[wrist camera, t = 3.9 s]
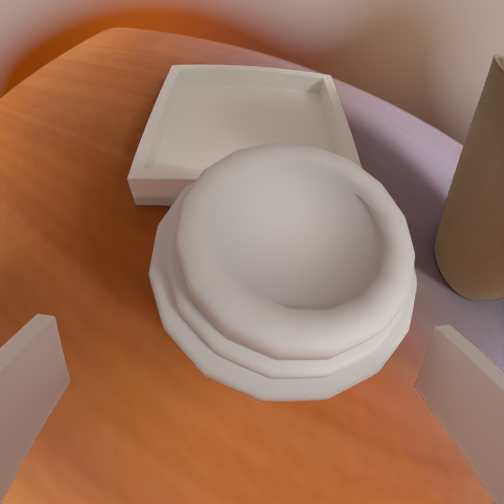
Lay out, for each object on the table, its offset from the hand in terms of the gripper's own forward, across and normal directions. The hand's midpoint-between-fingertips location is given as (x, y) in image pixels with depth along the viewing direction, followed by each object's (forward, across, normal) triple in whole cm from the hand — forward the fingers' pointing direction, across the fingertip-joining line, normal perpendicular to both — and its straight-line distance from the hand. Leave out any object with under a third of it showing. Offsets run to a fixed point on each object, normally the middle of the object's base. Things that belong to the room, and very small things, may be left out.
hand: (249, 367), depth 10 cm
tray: (+21, 0, +9) cm, 23 cm away
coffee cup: (+9, +1, -4) cm, 10 cm away
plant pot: (+13, +19, 0) cm, 23 cm away
